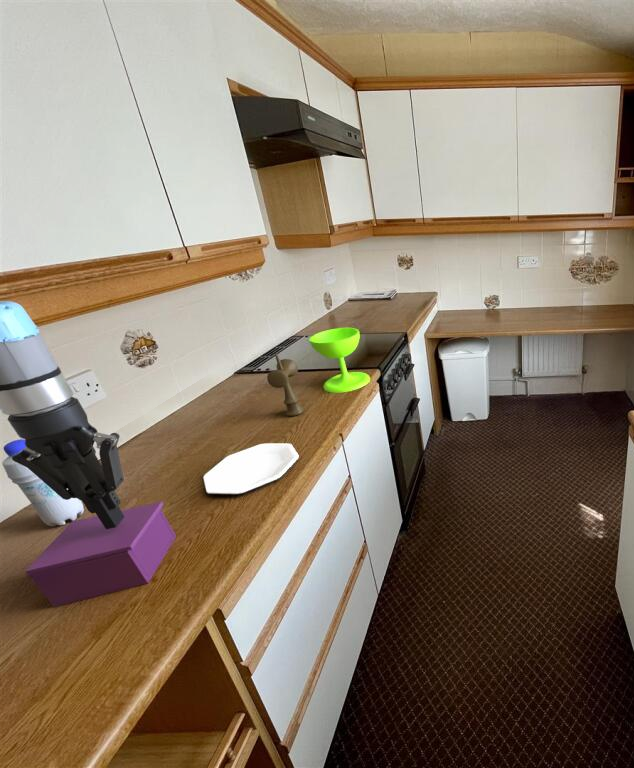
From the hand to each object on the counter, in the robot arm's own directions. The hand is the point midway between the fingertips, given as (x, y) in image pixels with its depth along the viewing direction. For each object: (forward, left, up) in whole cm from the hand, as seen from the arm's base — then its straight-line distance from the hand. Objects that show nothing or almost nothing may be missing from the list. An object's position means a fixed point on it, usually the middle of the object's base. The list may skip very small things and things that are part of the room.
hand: (115, 522), depth 72 cm
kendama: (+4, +56, -10) cm, 57 cm away
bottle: (-27, +14, -10) cm, 32 cm away
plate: (+7, +27, -10) cm, 30 cm away
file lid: (-3, -1, -2) cm, 4 cm away
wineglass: (+13, +77, -10) cm, 79 cm away
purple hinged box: (-3, -1, -10) cm, 11 cm away
